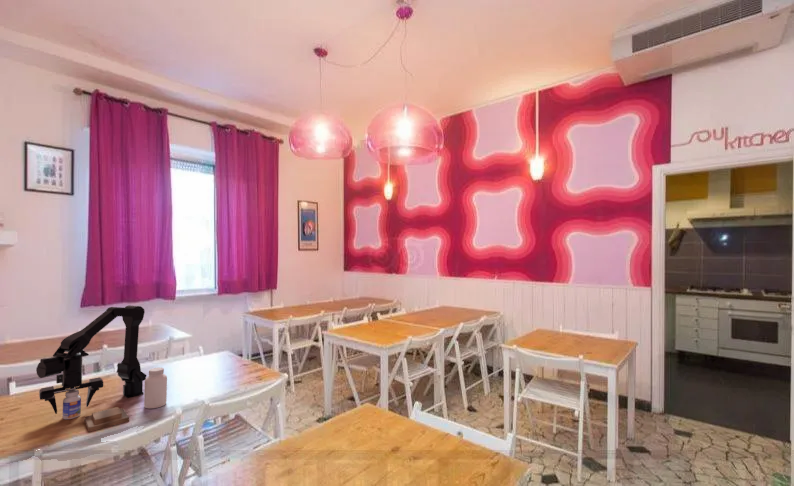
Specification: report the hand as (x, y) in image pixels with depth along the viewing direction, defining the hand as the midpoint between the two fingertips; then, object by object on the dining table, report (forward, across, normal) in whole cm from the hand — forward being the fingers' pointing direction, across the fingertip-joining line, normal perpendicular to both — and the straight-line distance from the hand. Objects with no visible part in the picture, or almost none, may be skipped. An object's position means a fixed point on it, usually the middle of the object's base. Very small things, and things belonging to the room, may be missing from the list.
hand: (71, 410), depth 149 cm
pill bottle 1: (+3, 0, 0) cm, 3 cm away
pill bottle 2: (+3, -26, +10) cm, 28 cm away
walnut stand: (+2, -9, +14) cm, 17 cm away
